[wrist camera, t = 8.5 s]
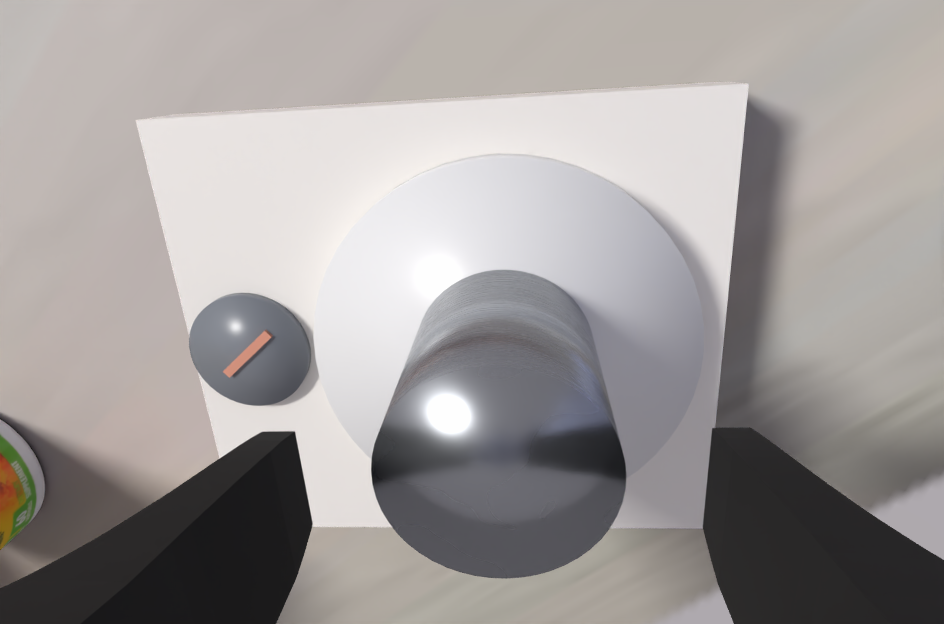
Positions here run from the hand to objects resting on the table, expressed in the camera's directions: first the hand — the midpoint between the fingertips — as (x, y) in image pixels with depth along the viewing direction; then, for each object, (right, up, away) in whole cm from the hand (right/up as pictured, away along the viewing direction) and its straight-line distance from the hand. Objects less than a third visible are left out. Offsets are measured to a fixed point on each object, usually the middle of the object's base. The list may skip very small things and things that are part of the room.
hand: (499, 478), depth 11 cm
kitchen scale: (-1, +3, +7) cm, 8 cm away
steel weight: (0, +2, +5) cm, 5 cm away
